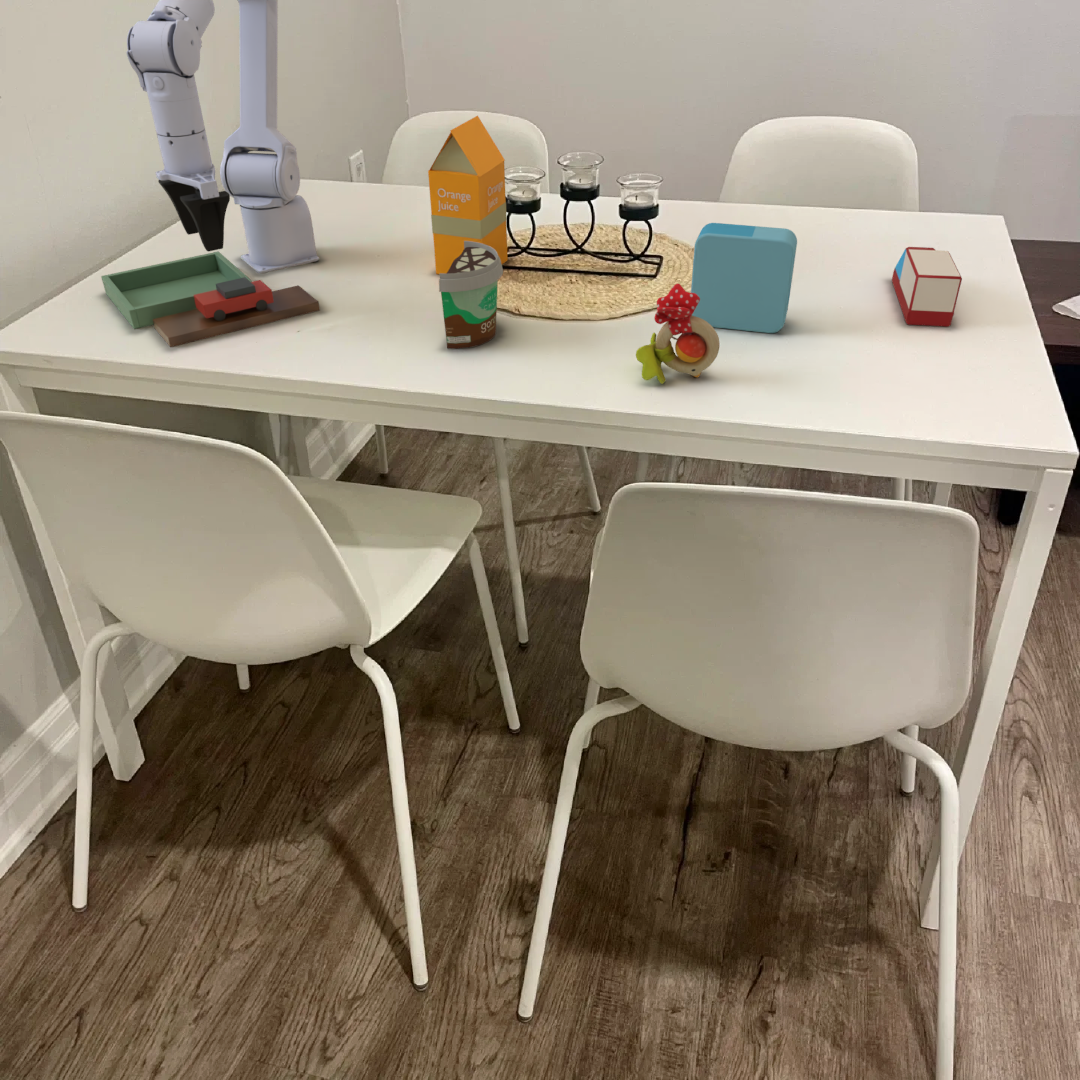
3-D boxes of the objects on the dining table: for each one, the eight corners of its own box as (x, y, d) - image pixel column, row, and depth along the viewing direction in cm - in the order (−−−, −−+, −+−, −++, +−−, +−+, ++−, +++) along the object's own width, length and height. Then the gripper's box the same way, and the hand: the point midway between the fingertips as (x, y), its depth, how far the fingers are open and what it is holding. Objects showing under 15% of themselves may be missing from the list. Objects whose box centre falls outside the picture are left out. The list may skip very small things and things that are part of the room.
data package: (786, 321, 129) (799, 228, 122) (782, 335, 125) (795, 241, 118) (693, 311, 132) (701, 221, 125) (688, 325, 128) (695, 232, 121)
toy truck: (931, 283, 139) (942, 236, 135) (950, 327, 127) (963, 277, 123) (891, 281, 139) (900, 234, 135) (905, 325, 127) (916, 275, 123)
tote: (222, 269, 146) (218, 251, 145) (257, 301, 137) (253, 282, 135) (106, 295, 139) (100, 275, 138) (134, 331, 129) (129, 310, 128)
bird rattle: (693, 379, 120) (626, 349, 119) (740, 301, 114) (669, 268, 113) (693, 404, 115) (623, 373, 114) (742, 324, 109) (667, 290, 108)
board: (300, 295, 138) (298, 285, 137) (320, 312, 133) (318, 301, 133) (155, 329, 129) (152, 319, 129) (171, 349, 125) (168, 338, 124)
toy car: (263, 297, 134) (258, 272, 132) (275, 308, 131) (270, 283, 129) (197, 312, 130) (191, 287, 128) (207, 324, 127) (202, 298, 125)
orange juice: (435, 274, 144) (423, 128, 132) (461, 253, 151) (452, 113, 139) (484, 281, 142) (477, 133, 130) (509, 259, 148) (504, 117, 136)
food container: (492, 357, 122) (489, 278, 116) (443, 353, 123) (437, 275, 117) (514, 316, 131) (512, 241, 125) (469, 313, 132) (465, 239, 126)
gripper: (130, 123, 124) (157, 231, 132) (166, 149, 115) (192, 264, 123) (186, 115, 127) (209, 221, 136) (225, 139, 118) (247, 251, 126)
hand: (204, 240), depth 129 cm, fingers open, 7 cm apart
